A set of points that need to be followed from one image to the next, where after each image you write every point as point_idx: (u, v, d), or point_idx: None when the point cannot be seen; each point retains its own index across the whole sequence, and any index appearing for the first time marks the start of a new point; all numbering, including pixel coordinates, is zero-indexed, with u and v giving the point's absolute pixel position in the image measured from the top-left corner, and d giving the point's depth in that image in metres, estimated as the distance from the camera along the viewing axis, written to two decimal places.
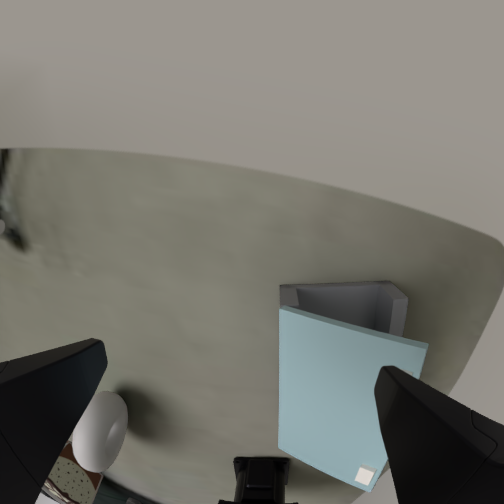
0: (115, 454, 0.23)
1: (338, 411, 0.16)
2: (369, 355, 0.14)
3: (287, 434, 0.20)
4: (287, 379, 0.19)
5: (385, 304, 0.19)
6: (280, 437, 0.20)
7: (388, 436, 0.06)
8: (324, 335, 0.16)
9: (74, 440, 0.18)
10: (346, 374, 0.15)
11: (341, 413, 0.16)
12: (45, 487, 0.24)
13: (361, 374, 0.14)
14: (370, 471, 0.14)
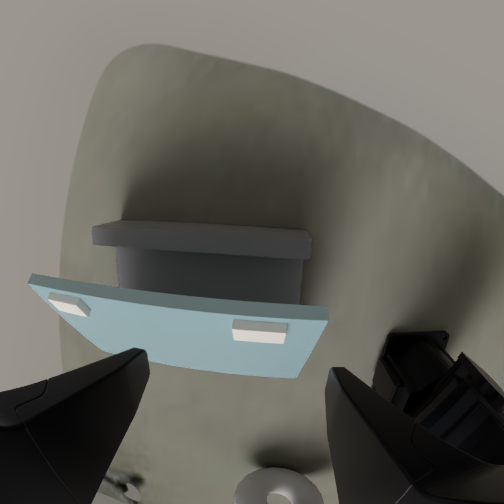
0: (312, 502, 0.20)
1: (157, 341, 0.14)
2: (72, 316, 0.13)
3: (255, 372, 0.17)
4: (164, 361, 0.17)
5: None
6: (269, 376, 0.17)
7: (333, 441, 0.06)
8: (90, 335, 0.16)
9: None
10: (105, 330, 0.14)
11: (156, 339, 0.14)
12: None
13: (93, 322, 0.13)
14: (234, 331, 0.11)
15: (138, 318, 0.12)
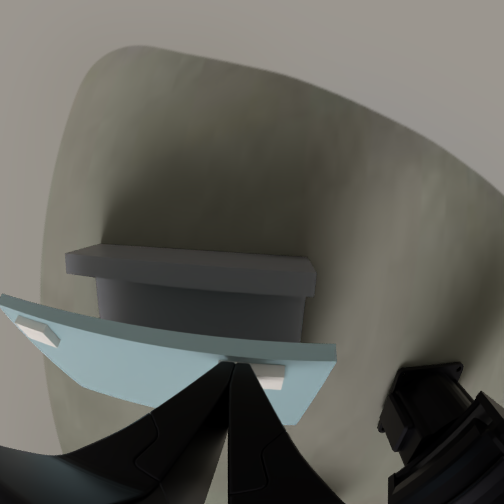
0: None
1: (135, 381, 0.11)
2: (44, 345, 0.11)
3: None
4: (147, 403, 0.14)
5: None
6: None
7: None
8: (66, 368, 0.13)
9: None
10: (80, 365, 0.12)
11: (134, 379, 0.11)
12: None
13: (66, 354, 0.11)
14: None
15: (110, 353, 0.09)
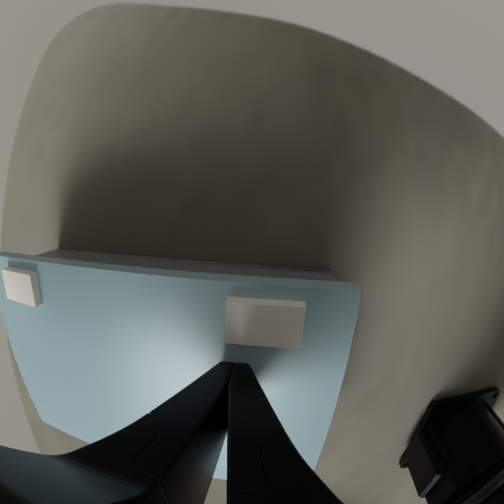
0: None
1: (111, 383, 0.09)
2: (18, 326, 0.09)
3: None
4: None
5: None
6: None
7: None
8: (31, 378, 0.10)
9: None
10: (50, 361, 0.09)
11: (111, 379, 0.09)
12: None
13: (38, 339, 0.09)
14: (228, 313, 0.07)
15: (96, 314, 0.08)
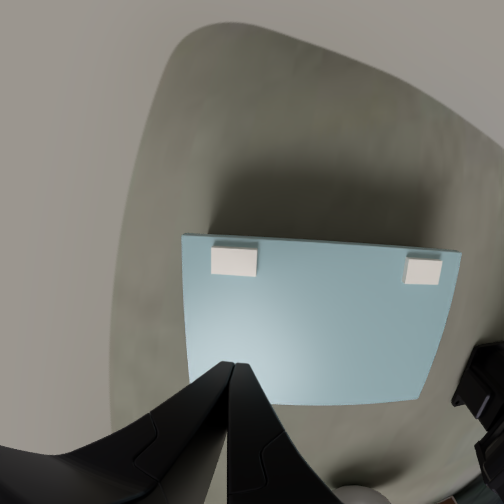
0: None
1: (309, 331, 0.14)
2: (208, 300, 0.14)
3: (384, 391, 0.14)
4: (283, 395, 0.15)
5: None
6: (395, 399, 0.14)
7: None
8: (202, 350, 0.14)
9: None
10: (244, 325, 0.14)
11: (311, 327, 0.13)
12: None
13: (237, 307, 0.14)
14: (408, 265, 0.12)
15: (316, 276, 0.13)
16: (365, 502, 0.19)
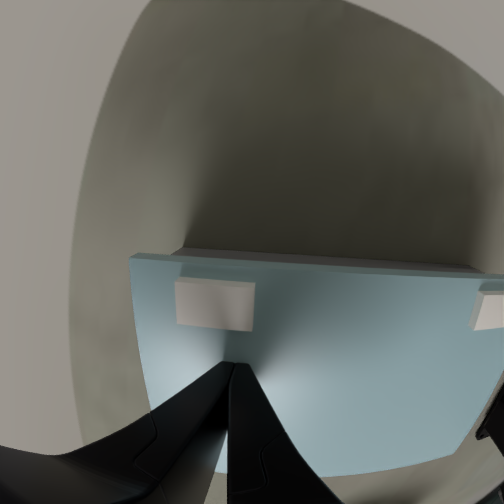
0: None
1: (333, 401, 0.08)
2: (176, 358, 0.08)
3: (418, 454, 0.09)
4: None
5: None
6: (428, 458, 0.09)
7: None
8: None
9: None
10: None
11: (336, 396, 0.08)
12: None
13: None
14: (482, 304, 0.07)
15: (351, 327, 0.07)
16: None
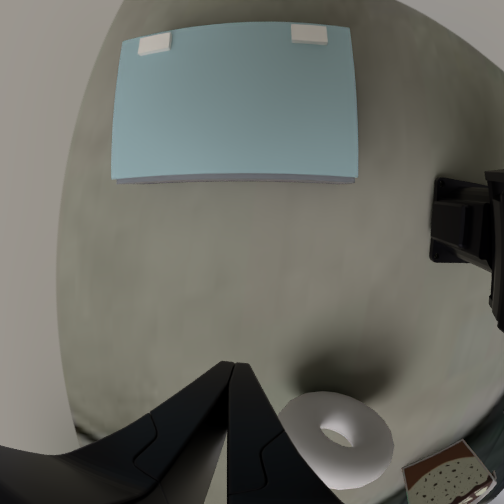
0: (379, 430, 0.17)
1: (213, 85, 0.14)
2: (134, 76, 0.14)
3: (309, 156, 0.14)
4: (195, 160, 0.15)
5: None
6: (326, 170, 0.14)
7: None
8: (124, 122, 0.14)
9: None
10: (159, 90, 0.14)
11: (214, 81, 0.14)
12: None
13: (154, 76, 0.14)
14: (292, 28, 0.12)
15: (215, 44, 0.13)
16: (346, 413, 0.19)
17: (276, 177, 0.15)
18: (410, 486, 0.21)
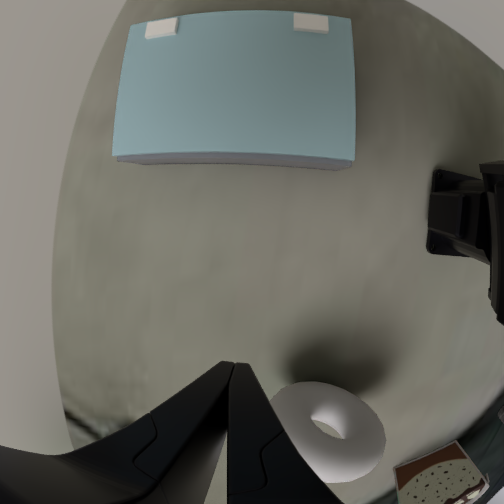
0: (371, 423, 0.17)
1: (215, 68, 0.14)
2: (140, 58, 0.14)
3: (306, 138, 0.14)
4: (195, 138, 0.15)
5: None
6: (323, 152, 0.14)
7: None
8: (128, 101, 0.14)
9: None
10: (163, 71, 0.14)
11: (217, 64, 0.14)
12: None
13: (159, 58, 0.14)
14: (295, 16, 0.12)
15: (219, 29, 0.13)
16: (338, 404, 0.20)
17: (274, 157, 0.15)
18: (401, 486, 0.22)
